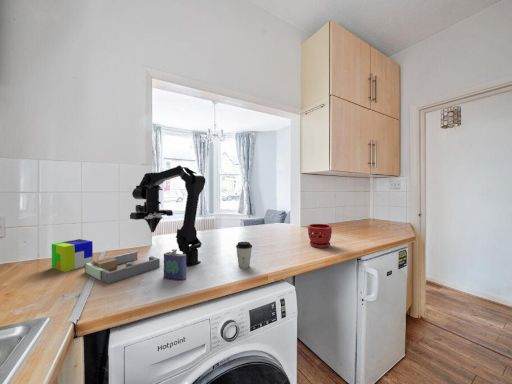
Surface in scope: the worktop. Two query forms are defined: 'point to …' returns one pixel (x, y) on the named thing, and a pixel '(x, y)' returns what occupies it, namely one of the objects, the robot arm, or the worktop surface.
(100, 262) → the walnut block
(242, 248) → the coffee cup
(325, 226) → the plant pot
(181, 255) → the flask
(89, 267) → the box
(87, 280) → the worktop surface
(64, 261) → the puzzle toy
